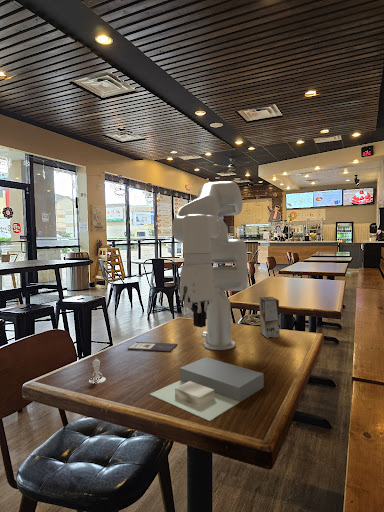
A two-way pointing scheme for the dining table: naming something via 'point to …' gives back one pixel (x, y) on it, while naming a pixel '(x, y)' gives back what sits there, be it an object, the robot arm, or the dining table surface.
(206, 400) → the cream tile
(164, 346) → the chocolate bar
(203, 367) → the slate deck
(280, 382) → the dining table surface
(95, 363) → the toy figurine
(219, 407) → the sage mat
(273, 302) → the coffee box
